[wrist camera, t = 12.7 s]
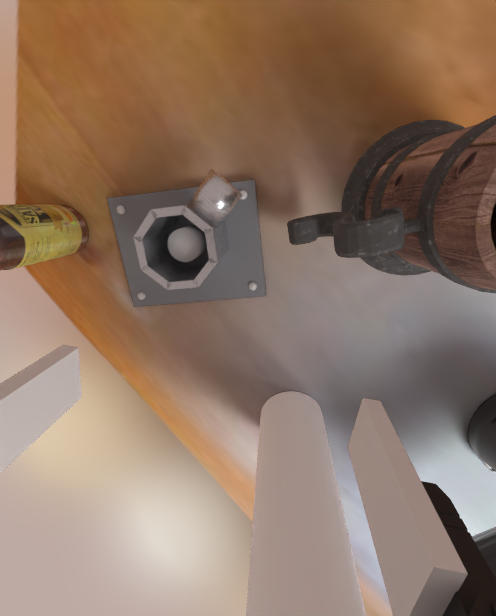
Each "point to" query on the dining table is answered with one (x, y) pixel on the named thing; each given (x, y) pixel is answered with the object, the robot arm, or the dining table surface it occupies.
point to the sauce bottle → (39, 233)
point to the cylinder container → (299, 519)
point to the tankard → (419, 205)
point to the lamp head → (200, 211)
